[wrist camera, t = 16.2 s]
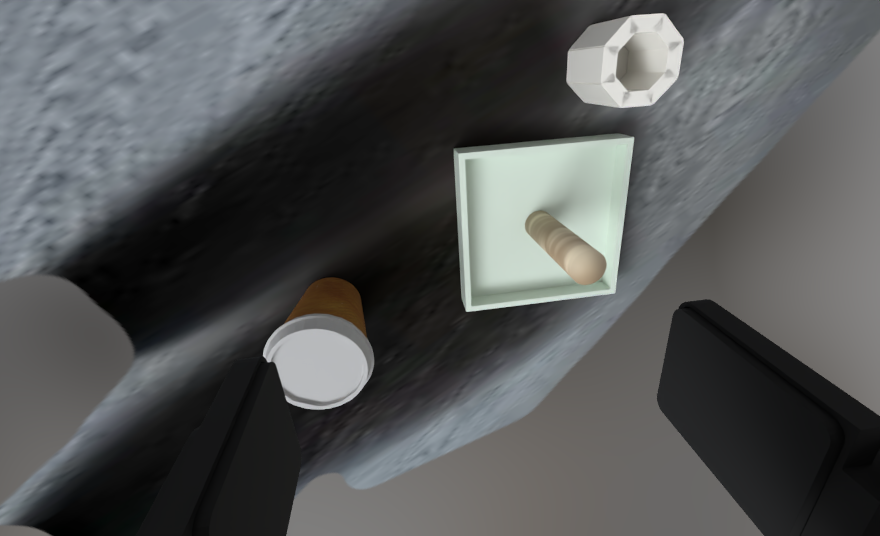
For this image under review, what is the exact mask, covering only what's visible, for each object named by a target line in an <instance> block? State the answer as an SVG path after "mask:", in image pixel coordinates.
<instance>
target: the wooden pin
mask: <svg viewBox="0 0 880 536" xmlns="http://www.w3.org/2000/svg"><path fill="white" fill-rule="evenodd" d="M525 230H526V232H527V233H528V234H529V235H530V236H531V238H532V239H533V240H534V241H535V242H536V243H537V244H538V245H539V246H540V247H541V248H542V249H543V250H544V251H545V252H546V253H547V254H548V255H549V256H550V257H551V258H552V259H553V260H554V261H555V262H556V263H557V264H558V265H559V266H560V267H561V268H562V269H563V270H564V271H565V272H566V273H567V274H568V275H569V276H570V277H571V278H572V279H573V280H574V281H575V282H577V283H578V284H581V285H590V284H593V283H595V282H597V281H598V280H599V279H600V278H601V277H602V276H603V275H604V273H605V271H606V266H607V263H606V259H605V257H604V256H603V255H602V254H601V253H600V252H599V251H597V250H596V249H595V248H593V247H592V246H591V245H589V244H588V243H587V242H585V241H584V240H583V239H581V238H580V237H579V236H577V235H576V234H575V233H573V232H572V231H571V230H570V229H568V228H567V227H566V226H564V225H563V224H562V223H560V222H559V221H558V220H556V219H555V218H554V217H552V216H551V215H550V214H548V213H547V212H545V211H535V212H533V213H531V214H530V215H529V216H528V218H527V219H526V222H525Z"/></svg>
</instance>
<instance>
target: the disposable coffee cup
mask: <svg viewBox="0 0 880 536" xmlns="http://www.w3.org/2000/svg"><path fill="white" fill-rule="evenodd" d="M263 357H265V358H266V360H267V362H274V363H275V364H276V367H277V370H278V373H279V377H280V380H281V384H282V387H283V390H284V394H285V397H286V401H288V402H289V403H291V404H293V405H296V406H299V407H302V408H307V409H328V408H333V407H337V406H340V405H342V404H344V403H346V402H348V401H350V400H351V399H352V398H354V397H355V396H356V395H357V394H358V393H359V392H360V391H361V390H362V388H363V386H364V385H365V384H366V383H367V381H368V380H369V378H370V376H371V374H372V371H373V366H374V355H373V350H372V347H371V345H370V343H369V341H368V339H367V335H366V329H365V323H364V316H363V310H362V304H361V297H360V294H359V292H358V290H357V289H356V288H355V287H354V286H353V285H352V284H351V283H349V282H347V281H345V280H343V279H340V278H334V277H330V278H323V279H320V280H317V281H316V282H314V283H313V284H311V285H310V286H309V287H308V289H307V290H306V292H305V294H304V295H303V296H302V298H301V299H300V301H299V302H298V304H297V305H296V307H295V308H294V310H293V311H292V313H291V314H290V316H289V317H288V319H287V320H286V322H285V323H284V324H283V325H282V326H281V327H279V328H278V329H276V331H275V332H274V333H273V334H272V336H271V337H270V338H269V339H268V341H267V343H266V346H265V348H264V353H263Z"/></svg>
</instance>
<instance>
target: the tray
mask: <svg viewBox="0 0 880 536" xmlns="http://www.w3.org/2000/svg"><path fill="white" fill-rule="evenodd" d="M633 144H634V137H632V136H628V135H624V134H620V133H615V134H604V135H593V136H582V137H571V138H561V139H550V140H539V141H528V142H518V143H507V144H496V145H485V146H474V147H464V148H454V167H455V185H456V203H457V222H458V240H459V259H460V277H461V295H462V301H463V304H464V307H465V310H466V312H469V311H477V310H485V309H493V308H501V307H509V306H518V305H526V304H534V303H542V302H550V301H558V300H566V299H574V298H582V297H590V296H598V295H606V294H614V293H615V289H616V281H617V273H618V265H619V257H620V249H621V241H622V233H623V225H624V217H625V209H626V201H627V193H628V185H629V176H630V168H631V160H632V152H633ZM535 211H545V212H547V213H548V214H550V215H551V216H552V217H554V218H555V219H556V220H558V221H559V222H560V223H562V224H563V225H564V226H566V227H567V228H568V229H570V230H571V231H572V232H573V233H575V234H576V235H577V236H579V237H580V238H581V239H583V240H584V241H585V242H587V243H588V244H589V245H591V246H592V247H593V248H595V249H596V250H597V251H599V252H600V253H601V254H602V255H603V256H604V257H605V259H606V263H607V266H606V271H605V273H604V275H603V276H602V277H601V278H600V279H599V280H598V281H597V282H595V283H593V284H590V285H581V284H578V283H577V282H575V281H574V280H573V279H572V278H571V277H570V276H569V275H568V274H567V273H566V272H565V271H564V270H563V269H562V268H561V267H560V266H559V265H558V264H557V263H556V262H555V261H554V260H553V259H552V258H551V257H550V256H549V255H548V254H547V253H546V252H545V251H544V250H543V249H542V248H541V247H540V246H539V245H538V244H537V243H536V242H535V241H534V240H533V239H532V238H531V236H530V235H529V234H528V233H527V232H526V230H525V222H526V219H527V218H528V216H529V215H530V214H531V213H533V212H535Z"/></svg>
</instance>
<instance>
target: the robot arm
mask: <svg viewBox="0 0 880 536" xmlns="http://www.w3.org/2000/svg"><path fill="white" fill-rule="evenodd" d="M657 401H658V405H659V407H660V409H661V411H662V412H663V413H664V414H665V416H666V417H667V418H668V419H669V420H670V422H671V423H672V424H673V426H674V427H675V428H676V429H677V430H678V432H679V433H680V434H681V435H682V436H683V438H684V439H685V440H686V441H687V442H688V444H689V445H690V446H691V447H692V449H693V450H694V451H695V452H696V453H697V455H698V456H699V457H700V458H701V460H702V461H703V462H704V463H705V464H706V466H707V467H708V468H709V469H710V470H711V471H712V473H713V474H714V475H715V476H716V478H717V479H718V480H719V481H720V483H721V484H722V485H723V486H724V487H725V488H726V490H727V491H728V492H729V493H730V495H731V496H732V497H733V498H734V500H735V501H736V502H737V503H738V504H739V506H740V507H741V508H742V509H743V510H744V512H745V513H746V514H747V515H748V517H749V518H750V519H751V520H752V521H753V523H754V524H755V525H756V526H757V527H758V529H759V530H760V531H761V532H762V534H763V535H764V536H880V416H879V415H877V414H876V413H874V412H873V411H871V410H870V409H869V408H867V407H866V406H864V405H863V404H861V403H860V402H859V401H857V400H856V399H854V398H852V397H851V396H850V395H848V394H847V393H845V392H844V391H843V390H841V389H840V388H838V387H837V386H835V385H834V384H832V383H831V382H830V381H828V380H827V379H825V378H824V377H822V376H821V375H819V374H818V373H816V372H815V371H814V370H812V369H811V368H809V367H808V366H806V365H805V364H803V363H802V362H800V361H799V360H798V359H796V358H795V357H793V356H792V355H790V354H789V353H788V352H786V351H785V350H783V349H782V348H780V347H779V346H777V345H776V344H774V343H773V342H772V341H770V340H769V339H767V338H766V337H764V336H763V335H761V334H760V333H759V332H757V331H756V330H754V329H753V328H751V327H750V326H748V325H747V324H746V323H744V322H742V321H741V320H740V319H738V318H737V317H735V316H734V315H732V314H731V313H730V312H728V311H727V310H725V309H724V308H722V307H721V306H719V305H718V304H717V303H715V302H713V301H711V300H698V301H690V302H684V303H682V304H681V305H680V306H679V309H678V310H676V311H675V312H674V314H673V318H672V323H671V328H670V333H669V338H668V343H667V348H666V353H665V359H664V364H663V369H662V373H661V379H660V384H659V389H658V394H657ZM300 467H301V448H300V445H299V441H298V438H297V434H296V431H295V428H294V424H293V421H292V418H291V414H290V411H289V407H288V404H287V401H286V397H285V394H284V390H283V387H282V384H281V380H280V377H279V373H278V370H277V367H276V364H275V363H274V362H267V360H266V358H265V357H263V356H262V357H254V358H246V359H238V360H236V361H235V362H234V363H233V365H232V366H231V368H230V370H229V372H228V374H227V376H226V378H225V380H224V382H223V384H222V386H221V388H220V390H219V392H218V393H217V395H216V397H215V399H214V401H213V403H212V405H211V407H210V409H209V411H208V413H207V415H206V417H205V419H204V420H203V422H202V424H201V426H200V427H198V428H196V429H195V430H193V432H192V433H191V434H190V436H189V437H188V439H187V441H186V443H185V445H184V447H183V449H182V451H181V452H180V454H179V456H178V458H177V460H176V462H175V464H174V465H173V467H172V469H171V471H170V473H169V475H168V477H167V479H166V480H165V482H164V484H163V486H162V488H161V490H160V492H159V494H158V495H157V497H156V499H155V501H154V503H153V505H152V507H151V508H150V510H149V512H148V514H147V516H146V518H145V520H144V522H143V523H142V525H141V527H140V529H139V531H138V533H137V535H136V536H286V534H287V529H288V524H289V519H290V514H291V510H292V505H293V500H294V496H295V491H296V486H297V481H298V477H299V472H300Z"/></svg>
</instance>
